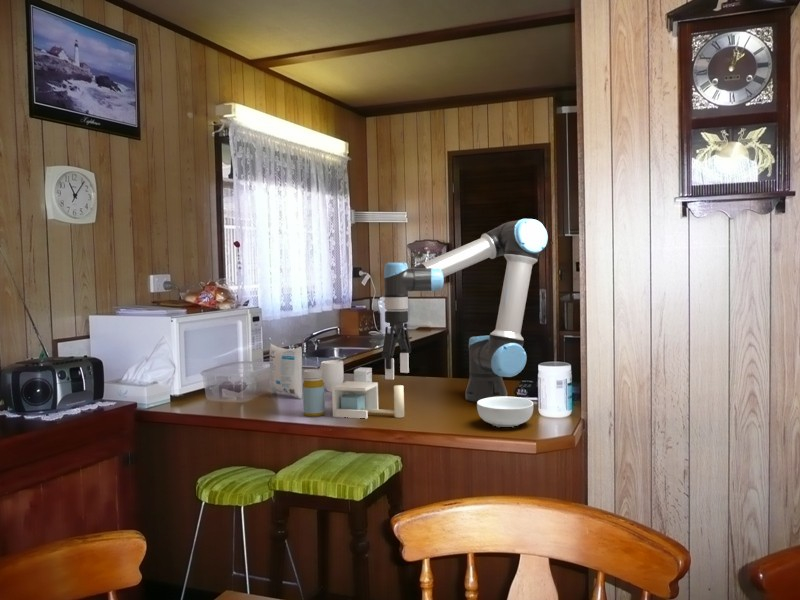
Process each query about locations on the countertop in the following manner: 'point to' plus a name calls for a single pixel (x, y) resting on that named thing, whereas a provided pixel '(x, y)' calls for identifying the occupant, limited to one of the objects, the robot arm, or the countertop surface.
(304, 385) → the bottle
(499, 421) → the cereal bowl
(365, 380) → the ink box
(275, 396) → the countertop surface
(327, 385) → the mug
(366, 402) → the cubby shelf
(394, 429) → the countertop surface
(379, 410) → the toy mallet
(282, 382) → the pouch
